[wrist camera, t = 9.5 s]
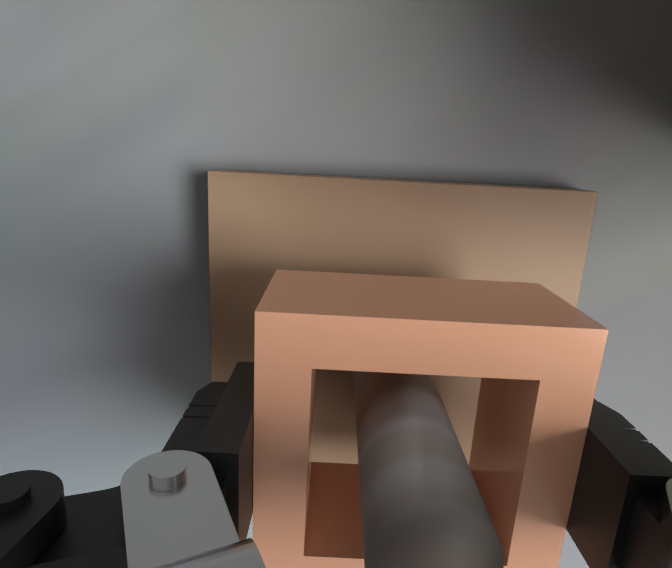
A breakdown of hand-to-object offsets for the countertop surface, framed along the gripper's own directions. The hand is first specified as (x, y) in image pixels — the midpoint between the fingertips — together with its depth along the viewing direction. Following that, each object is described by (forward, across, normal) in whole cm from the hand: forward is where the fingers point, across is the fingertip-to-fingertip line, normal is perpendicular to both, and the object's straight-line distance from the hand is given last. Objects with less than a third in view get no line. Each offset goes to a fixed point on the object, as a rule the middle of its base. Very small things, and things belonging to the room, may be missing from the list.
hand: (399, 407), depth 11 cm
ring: (+1, 0, 0) cm, 1 cm away
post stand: (+4, 0, 0) cm, 4 cm away
